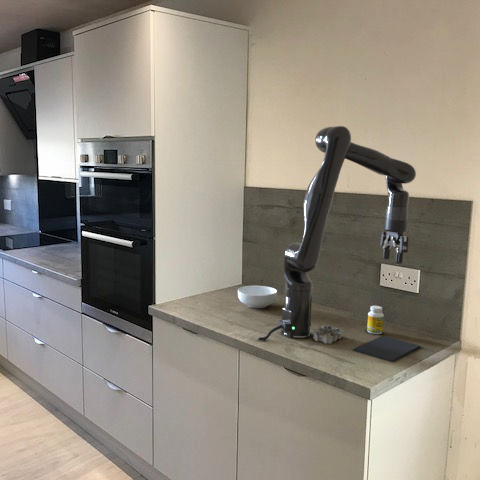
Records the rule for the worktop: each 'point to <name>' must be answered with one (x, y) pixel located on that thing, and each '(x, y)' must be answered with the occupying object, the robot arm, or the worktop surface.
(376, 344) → the placemat
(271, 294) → the cereal bowl
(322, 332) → the egg carton
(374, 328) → the supplement bottle
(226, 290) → the worktop surface
